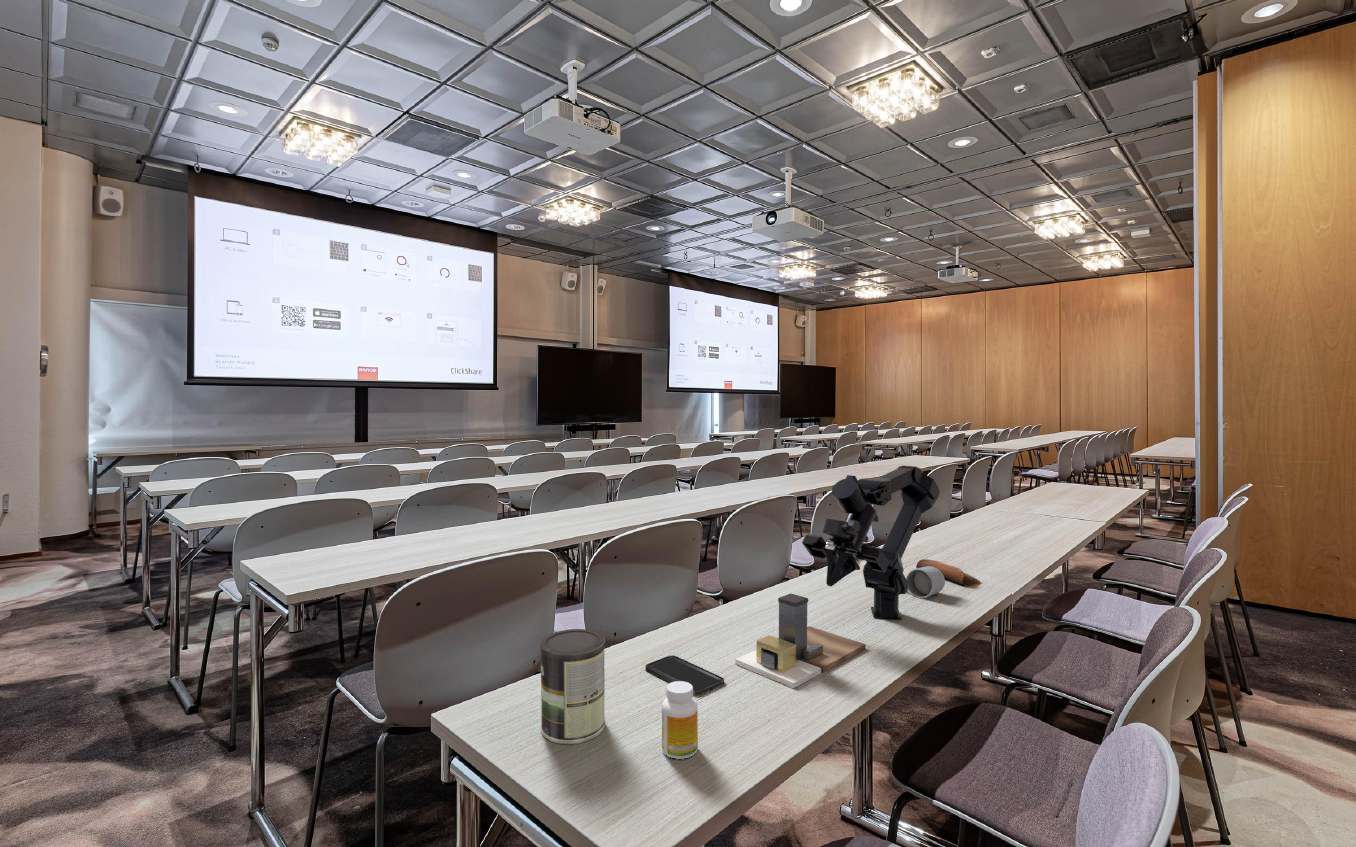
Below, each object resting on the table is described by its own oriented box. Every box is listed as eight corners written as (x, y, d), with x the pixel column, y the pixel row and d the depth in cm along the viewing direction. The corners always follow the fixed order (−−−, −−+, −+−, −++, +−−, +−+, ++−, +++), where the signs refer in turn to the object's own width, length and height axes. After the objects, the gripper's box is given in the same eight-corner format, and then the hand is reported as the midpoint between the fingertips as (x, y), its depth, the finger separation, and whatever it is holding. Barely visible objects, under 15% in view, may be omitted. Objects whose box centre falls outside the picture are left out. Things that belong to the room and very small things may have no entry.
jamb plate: (763, 651, 128) (763, 646, 128) (820, 673, 118) (820, 668, 118) (735, 663, 122) (735, 658, 122) (793, 688, 112) (793, 682, 112)
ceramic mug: (947, 594, 164) (947, 566, 164) (932, 601, 159) (932, 572, 159) (909, 586, 172) (909, 559, 172) (894, 592, 167) (894, 564, 167)
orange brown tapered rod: (985, 582, 174) (977, 564, 173) (969, 598, 172) (960, 579, 171) (936, 566, 191) (928, 549, 189) (921, 580, 189) (912, 563, 187)
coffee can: (531, 742, 94) (530, 652, 94) (552, 708, 104) (551, 627, 104) (597, 746, 93) (597, 655, 93) (611, 712, 103) (611, 629, 103)
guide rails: (793, 643, 130) (793, 634, 129) (823, 653, 124) (823, 644, 124) (779, 650, 126) (779, 641, 126) (808, 661, 121) (808, 652, 121)
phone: (672, 654, 125) (726, 679, 114) (672, 659, 125) (726, 685, 114) (642, 665, 119) (696, 692, 108) (642, 671, 120) (696, 699, 108)
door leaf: (809, 630, 139) (809, 625, 139) (865, 648, 129) (865, 644, 129) (765, 650, 128) (765, 645, 128) (822, 672, 118) (822, 667, 118)
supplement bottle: (705, 752, 92) (705, 688, 91) (675, 765, 89) (675, 699, 88) (683, 736, 96) (683, 675, 96) (654, 747, 93) (654, 684, 93)
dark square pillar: (790, 648, 126) (790, 593, 126) (807, 654, 123) (808, 598, 123) (759, 663, 119) (759, 604, 119) (776, 670, 116) (777, 610, 116)
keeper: (769, 656, 123) (769, 634, 123) (795, 666, 119) (795, 644, 118) (756, 662, 120) (756, 640, 120) (782, 672, 116) (783, 650, 116)
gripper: (806, 499, 141) (777, 555, 134) (882, 510, 128) (853, 573, 121) (825, 527, 147) (798, 583, 140) (900, 540, 133) (873, 603, 126)
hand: (828, 585), depth 132 cm, fingers closed
